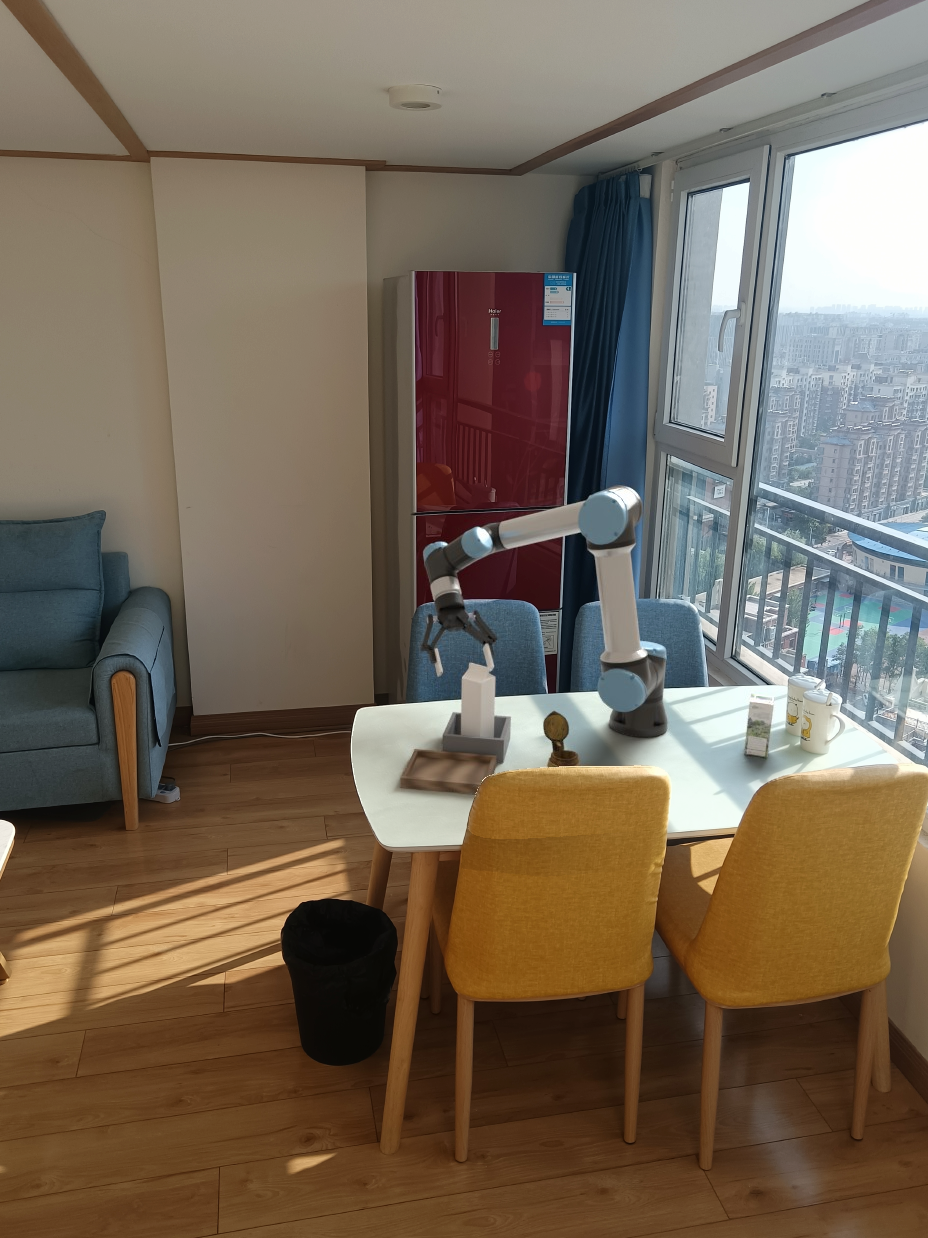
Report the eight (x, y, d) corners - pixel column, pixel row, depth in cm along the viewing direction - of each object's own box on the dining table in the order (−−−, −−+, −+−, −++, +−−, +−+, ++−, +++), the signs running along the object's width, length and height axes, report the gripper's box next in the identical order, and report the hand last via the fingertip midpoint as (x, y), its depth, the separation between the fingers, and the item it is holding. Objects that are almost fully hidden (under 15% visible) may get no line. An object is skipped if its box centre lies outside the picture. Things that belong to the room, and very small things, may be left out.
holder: (510, 738, 250) (510, 716, 248) (503, 763, 236) (503, 740, 234) (452, 733, 252) (452, 712, 250) (442, 758, 238) (442, 735, 236)
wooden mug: (568, 780, 227) (572, 708, 222) (588, 808, 215) (593, 732, 209) (531, 784, 225) (534, 711, 220) (549, 811, 213) (553, 735, 208)
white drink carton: (768, 749, 246) (774, 695, 242) (767, 758, 241) (773, 704, 237) (745, 746, 248) (750, 692, 244) (743, 755, 243) (749, 700, 238)
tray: (496, 765, 235) (496, 755, 234) (487, 795, 219) (487, 785, 219) (414, 758, 238) (414, 749, 237) (400, 787, 222) (400, 777, 222)
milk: (474, 741, 248) (476, 659, 242) (493, 747, 245) (496, 664, 238) (460, 749, 243) (461, 665, 237) (479, 755, 240) (481, 670, 234)
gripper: (488, 601, 261) (508, 673, 252) (398, 608, 253) (415, 682, 244) (496, 587, 255) (516, 660, 246) (404, 594, 247) (421, 669, 237)
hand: (466, 671), depth 245 cm, fingers open, 13 cm apart
